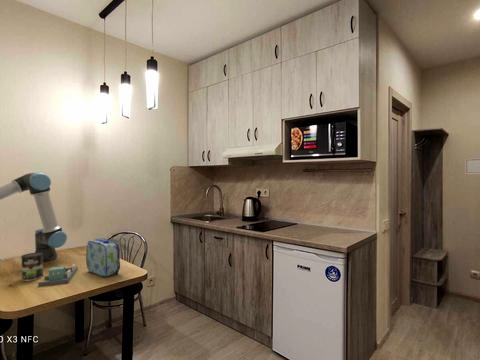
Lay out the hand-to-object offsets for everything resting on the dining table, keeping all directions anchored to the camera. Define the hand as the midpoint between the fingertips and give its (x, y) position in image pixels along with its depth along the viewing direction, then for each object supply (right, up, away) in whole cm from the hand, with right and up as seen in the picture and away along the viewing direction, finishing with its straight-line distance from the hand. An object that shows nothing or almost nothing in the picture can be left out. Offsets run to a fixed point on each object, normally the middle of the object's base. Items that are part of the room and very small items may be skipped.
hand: (1, 261), depth 164 cm
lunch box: (+53, -11, +12) cm, 56 cm away
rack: (+30, -11, +5) cm, 32 cm away
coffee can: (+14, -12, +5) cm, 19 cm away
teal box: (+33, -11, -1) cm, 35 cm away
